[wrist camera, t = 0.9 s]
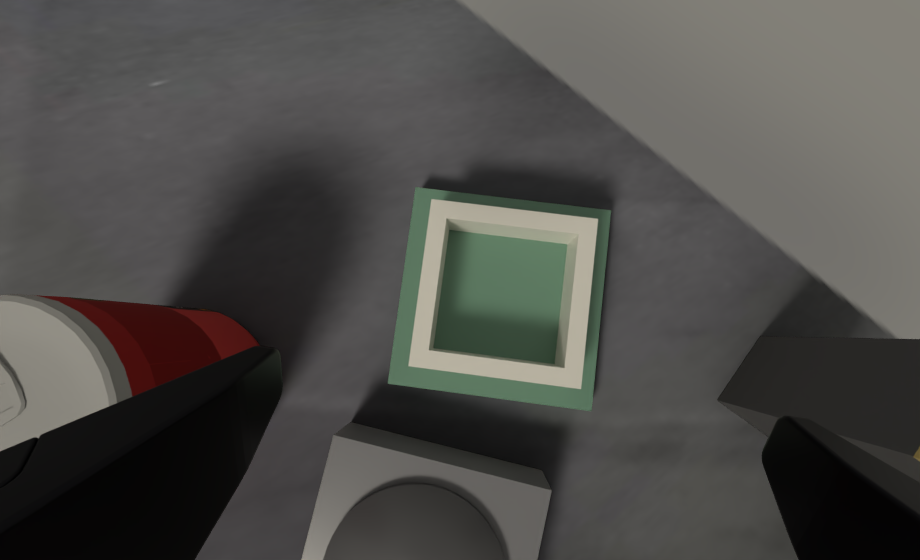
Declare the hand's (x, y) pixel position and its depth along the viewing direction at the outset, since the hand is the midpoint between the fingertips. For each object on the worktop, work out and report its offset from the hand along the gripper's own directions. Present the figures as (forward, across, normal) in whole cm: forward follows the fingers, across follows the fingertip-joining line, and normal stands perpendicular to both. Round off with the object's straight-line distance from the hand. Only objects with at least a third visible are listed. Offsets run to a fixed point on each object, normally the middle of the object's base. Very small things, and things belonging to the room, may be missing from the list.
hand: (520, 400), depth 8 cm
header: (+15, 0, +5) cm, 16 cm away
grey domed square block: (+9, +2, +16) cm, 19 cm away
